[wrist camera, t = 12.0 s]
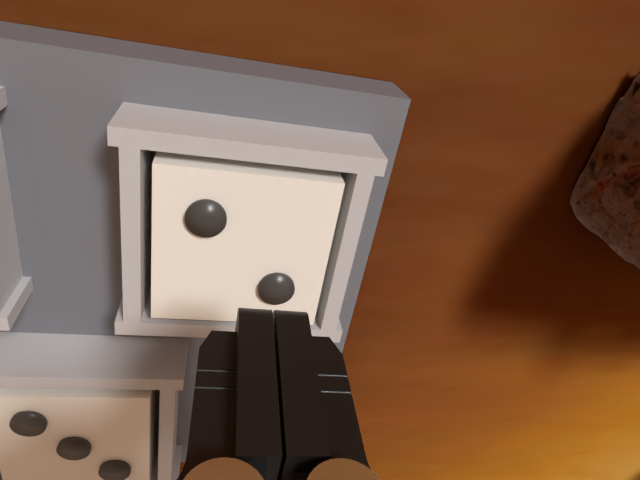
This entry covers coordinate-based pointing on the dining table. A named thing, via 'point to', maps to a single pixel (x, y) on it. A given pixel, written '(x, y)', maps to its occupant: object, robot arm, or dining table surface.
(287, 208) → the button two
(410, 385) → the dining table surface
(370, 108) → the button board
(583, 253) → the dining table surface
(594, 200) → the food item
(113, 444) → the button three
